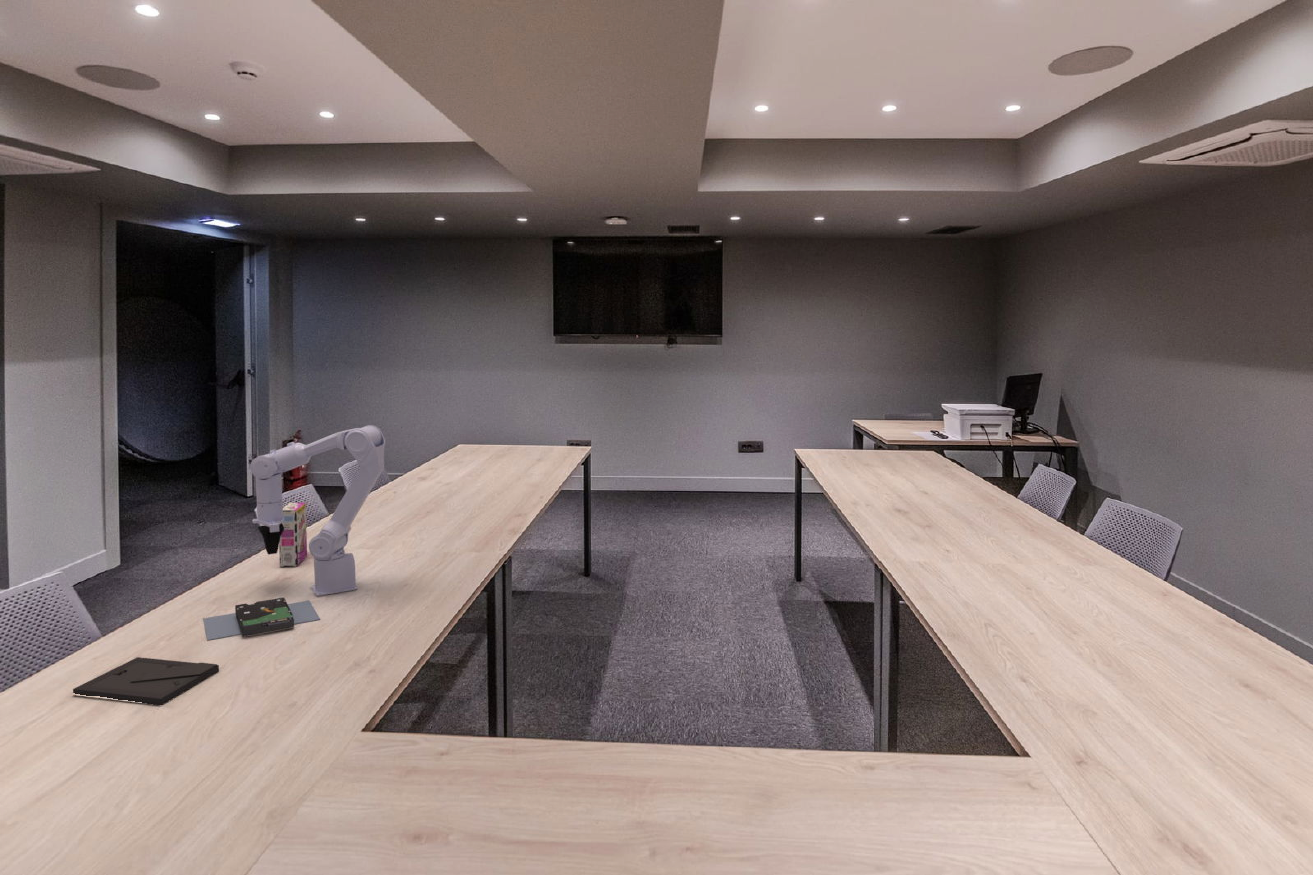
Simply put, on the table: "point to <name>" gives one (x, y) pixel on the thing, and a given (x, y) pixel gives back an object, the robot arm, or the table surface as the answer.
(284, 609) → the disk drive
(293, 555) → the candy bar box
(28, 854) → the table surface
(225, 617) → the mat
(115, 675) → the picture frame
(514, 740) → the table surface
